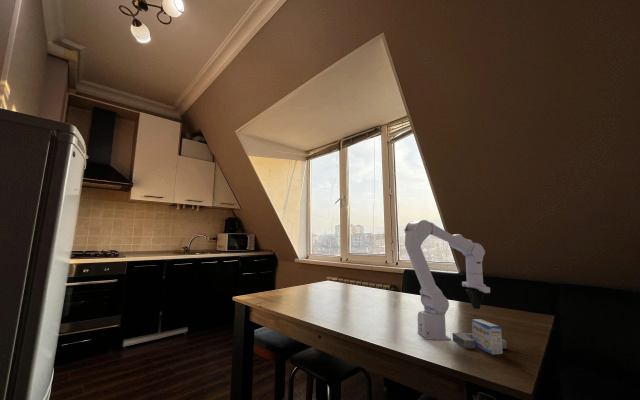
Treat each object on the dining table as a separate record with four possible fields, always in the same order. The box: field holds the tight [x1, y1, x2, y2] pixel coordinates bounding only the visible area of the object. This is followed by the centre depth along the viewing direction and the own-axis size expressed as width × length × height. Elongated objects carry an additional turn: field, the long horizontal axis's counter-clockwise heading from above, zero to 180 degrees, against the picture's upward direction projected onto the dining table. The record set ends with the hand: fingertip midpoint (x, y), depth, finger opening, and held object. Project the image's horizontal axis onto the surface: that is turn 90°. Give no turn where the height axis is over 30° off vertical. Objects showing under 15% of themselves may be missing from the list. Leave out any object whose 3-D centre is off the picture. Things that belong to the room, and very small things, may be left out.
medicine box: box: [471, 318, 504, 356], centre depth 89 cm, size 8×4×9 cm, turn 13°
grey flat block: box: [452, 332, 508, 350], centre depth 92 cm, size 15×7×2 cm, turn 93°
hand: (476, 308), depth 103 cm, fingers closed
